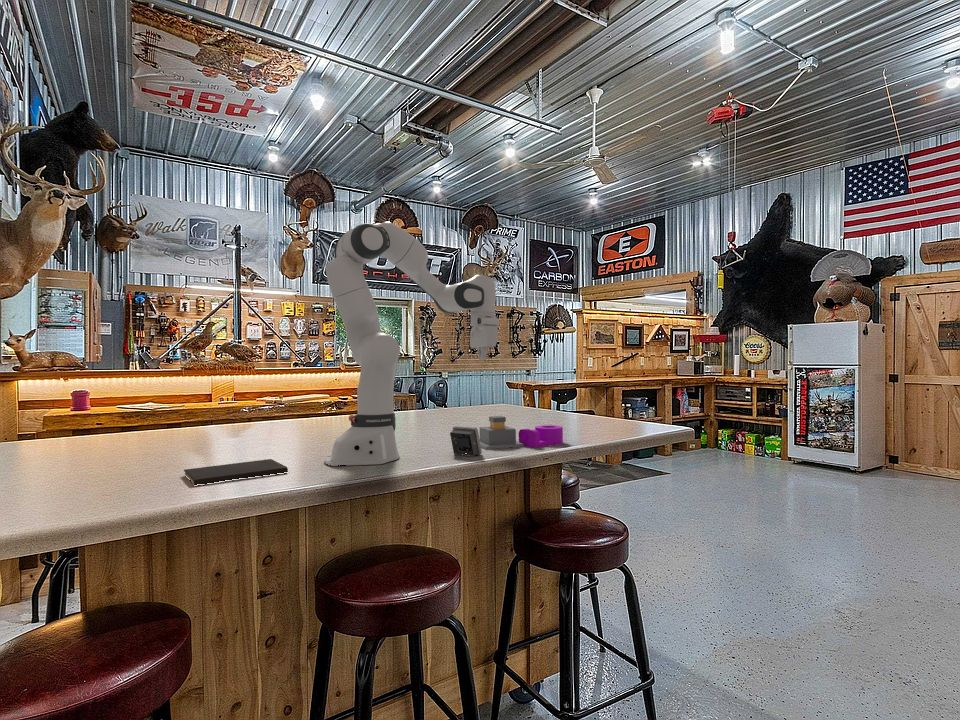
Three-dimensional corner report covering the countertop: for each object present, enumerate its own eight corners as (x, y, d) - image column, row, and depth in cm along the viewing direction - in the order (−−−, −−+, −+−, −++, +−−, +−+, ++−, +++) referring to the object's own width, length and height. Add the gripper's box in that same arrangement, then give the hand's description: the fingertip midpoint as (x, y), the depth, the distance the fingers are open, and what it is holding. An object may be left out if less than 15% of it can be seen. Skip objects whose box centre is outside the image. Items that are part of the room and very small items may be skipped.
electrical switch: (482, 454, 170) (480, 426, 169) (473, 459, 165) (471, 430, 164) (458, 452, 175) (456, 424, 174) (449, 456, 170) (447, 428, 169)
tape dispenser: (548, 441, 198) (548, 424, 198) (568, 444, 190) (568, 426, 190) (517, 446, 188) (517, 428, 188) (537, 449, 180) (536, 431, 180)
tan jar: (493, 443, 185) (493, 417, 185) (489, 441, 189) (489, 416, 189) (506, 442, 187) (505, 417, 186) (501, 440, 191) (501, 415, 191)
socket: (485, 449, 179) (485, 431, 179) (472, 443, 192) (472, 426, 192) (523, 446, 184) (523, 429, 184) (508, 440, 197) (508, 424, 197)
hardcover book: (183, 478, 144) (183, 469, 144) (271, 466, 158) (271, 458, 158) (193, 489, 131) (193, 479, 131) (288, 475, 145) (287, 467, 145)
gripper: (466, 323, 197) (465, 360, 197) (483, 318, 178) (482, 360, 178) (482, 323, 199) (481, 360, 199) (501, 319, 180) (500, 360, 180)
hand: (482, 360), depth 188 cm, fingers closed
